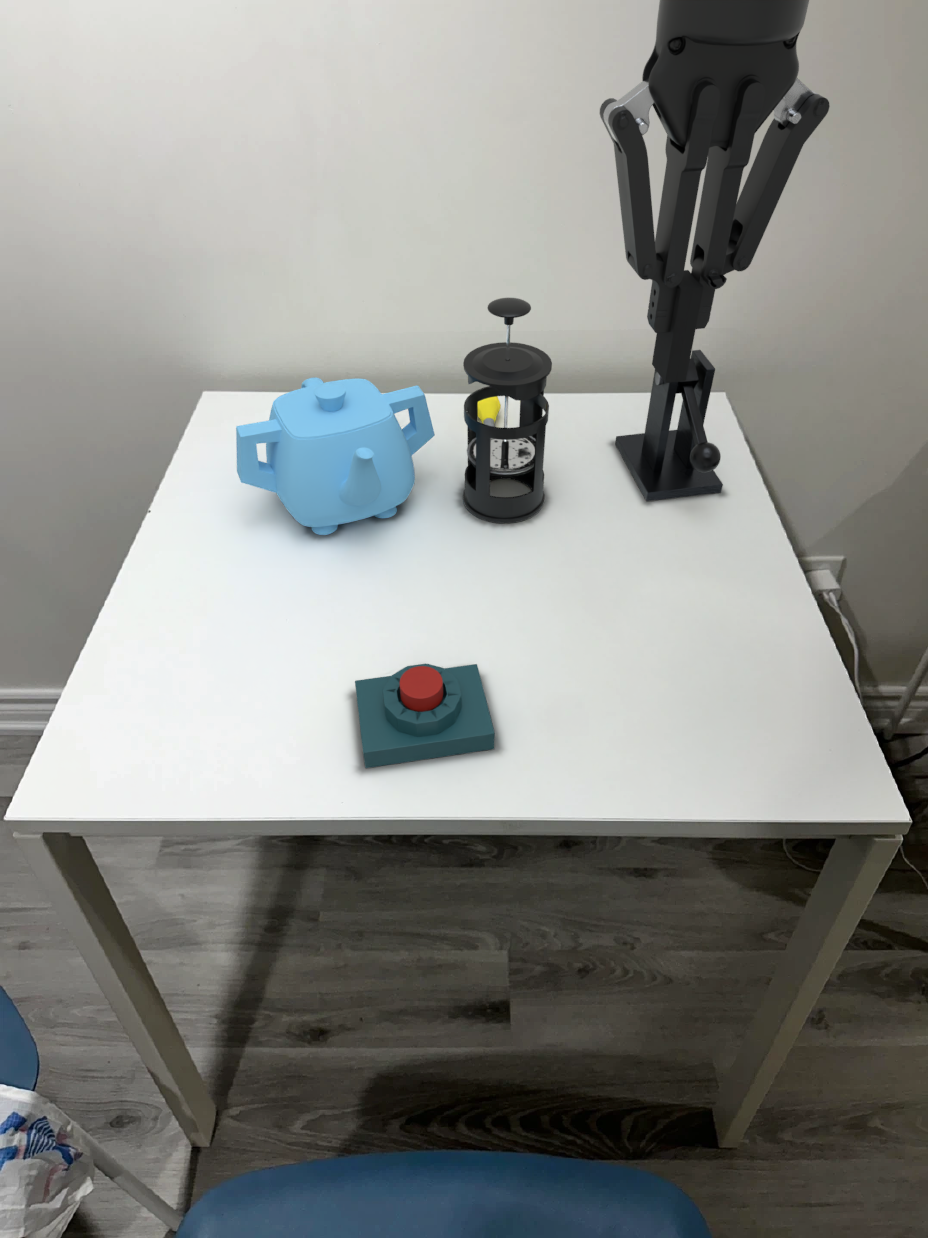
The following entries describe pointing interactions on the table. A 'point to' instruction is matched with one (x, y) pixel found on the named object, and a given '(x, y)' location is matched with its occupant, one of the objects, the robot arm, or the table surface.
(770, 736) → the table surface
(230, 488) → the table surface
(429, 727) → the button box
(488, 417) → the light bulb
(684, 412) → the ball knob lever stand
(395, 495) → the teapot
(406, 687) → the stop button
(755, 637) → the table surface
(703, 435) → the switch lever
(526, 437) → the french press
